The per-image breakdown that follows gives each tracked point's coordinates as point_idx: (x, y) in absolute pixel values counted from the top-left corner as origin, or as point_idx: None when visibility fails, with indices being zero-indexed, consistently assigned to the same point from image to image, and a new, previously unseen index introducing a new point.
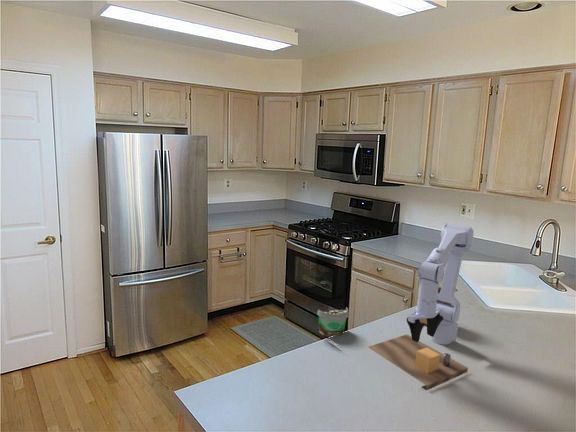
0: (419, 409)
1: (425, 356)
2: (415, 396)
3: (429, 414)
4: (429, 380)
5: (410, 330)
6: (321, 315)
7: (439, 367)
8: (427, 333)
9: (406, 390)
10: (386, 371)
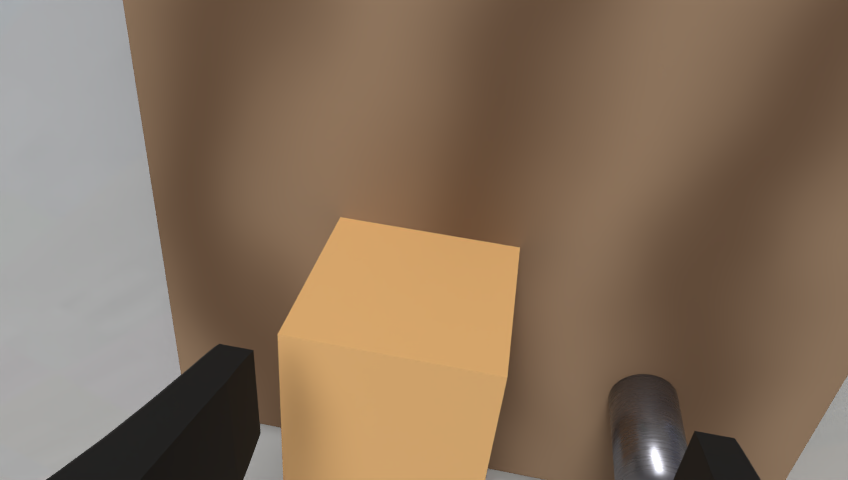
0: (18, 419)
1: (284, 438)
2: (77, 359)
3: (49, 463)
4: (260, 395)
5: (53, 477)
6: None
7: (534, 377)
8: (700, 447)
9: (56, 294)
10: (48, 29)
